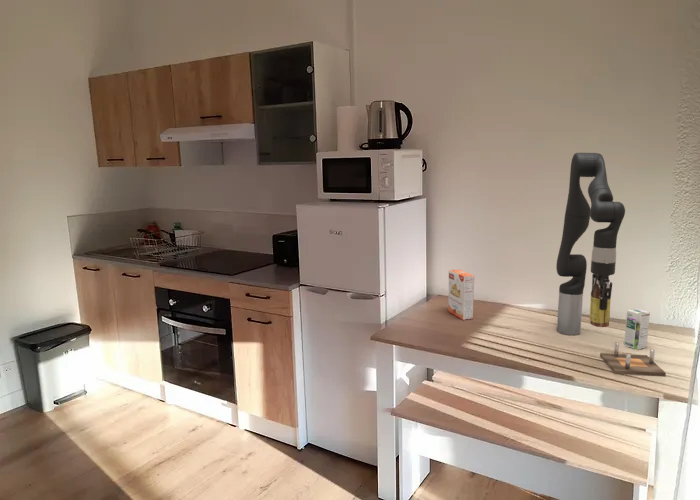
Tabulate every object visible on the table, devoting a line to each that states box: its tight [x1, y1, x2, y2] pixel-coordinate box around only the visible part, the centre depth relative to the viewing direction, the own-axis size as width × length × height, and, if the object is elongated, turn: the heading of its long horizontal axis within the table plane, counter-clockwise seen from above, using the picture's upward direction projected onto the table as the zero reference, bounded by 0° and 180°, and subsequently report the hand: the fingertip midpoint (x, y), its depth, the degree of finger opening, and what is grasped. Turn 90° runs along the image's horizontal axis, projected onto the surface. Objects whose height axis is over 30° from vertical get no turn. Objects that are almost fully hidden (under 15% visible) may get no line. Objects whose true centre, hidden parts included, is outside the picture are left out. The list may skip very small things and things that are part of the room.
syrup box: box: [623, 308, 651, 350], centre depth 199 cm, size 6×6×14 cm
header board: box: [599, 352, 667, 377], centre depth 182 cm, size 16×16×1 cm
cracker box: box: [447, 269, 475, 321], centre depth 241 cm, size 14×6×21 cm, turn 17°
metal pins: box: [613, 342, 656, 369], centre depth 182 cm, size 13×11×5 cm
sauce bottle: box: [589, 274, 611, 328], centre depth 179 cm, size 7×6×20 cm
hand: (599, 306), depth 180 cm, fingers closed on sauce bottle, 6 cm apart
